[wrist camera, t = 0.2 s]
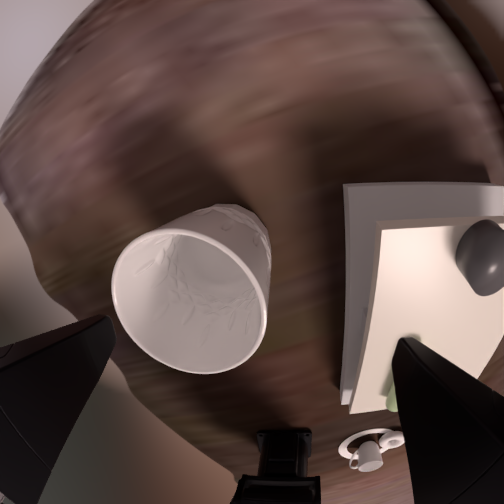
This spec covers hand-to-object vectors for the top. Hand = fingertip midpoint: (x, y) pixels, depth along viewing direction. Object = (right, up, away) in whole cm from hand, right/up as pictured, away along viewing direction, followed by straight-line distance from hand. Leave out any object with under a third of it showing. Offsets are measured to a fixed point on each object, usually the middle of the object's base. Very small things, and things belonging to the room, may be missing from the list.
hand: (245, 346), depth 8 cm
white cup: (-2, +3, +15) cm, 15 cm away
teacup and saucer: (+18, -24, +21) cm, 37 cm away
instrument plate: (+14, -3, +9) cm, 17 cm away
